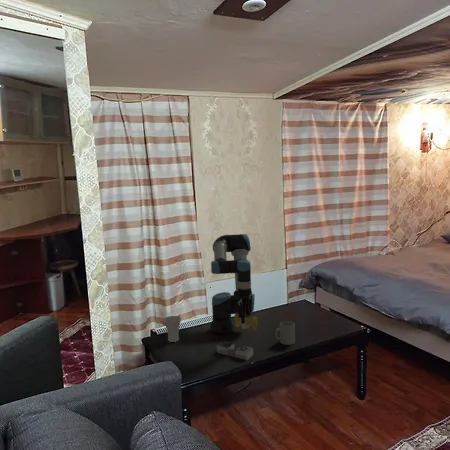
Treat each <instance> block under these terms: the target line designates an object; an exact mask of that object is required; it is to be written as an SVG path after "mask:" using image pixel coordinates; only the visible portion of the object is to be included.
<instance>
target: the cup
mask: <svg viewBox="0 0 450 450" xmlns="http://www.w3.org/2000/svg"><path fill="white" fill-rule="evenodd" d="M162 321H163V322H164V326H165V328H166V331H167V337H168V338H167V342H168V341H170V342H175V343H177V342H176V341H178V340H179V341H180V337H179V331H180V330H179V329H180V325H181V322H182V317H181V316H177V315H170V316H169V315H168V316H166V317H164V318H163V320H162ZM179 341H178V342H179ZM170 342H169V343H170Z"/></svg>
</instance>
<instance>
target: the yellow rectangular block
mask: <svg viewBox="0 0 450 450" xmlns="http://www.w3.org/2000/svg"><path fill="white" fill-rule="evenodd" d="M233 318H234V319H233V321H234V328H235V327H236V328H239V327H242V323H241V318H239V314H233ZM245 318H246V328H247V329H246V330H248V329H249V328H250V327H251V331H254V332H255V331H257V330H258V324H259V323H258V317H257V316H252V315H250V316H248V315H246V314H245Z"/></svg>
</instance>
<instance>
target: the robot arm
mask: <svg viewBox="0 0 450 450" xmlns="http://www.w3.org/2000/svg"><path fill="white" fill-rule="evenodd" d="M248 235H249V234H243V233H240V234H239V233H238V234H224V235H221V236H219V237H217V238H216V239H215V240H214V242H213V244H212V251H213V253H214V254H213V255H214V257H213V258H214V259H213V261H211V262H210V263H211V264H210V269H211V274H213V275H225V274H227V275H228V274H234V282H235V283H234V284H235V285H234V286H235V290H234V291H233V294H231V293H230V292H225V291H224V292H218V293H216V294H214V295H213V296H212V297H211V306H212V308H211V309H212V311H211V312H212V321H211V324H210V333H211V334H213V335H218V336H225V335H230V334H232V333H234V332H235V323H234V322H233V321H234V320H233V319H232V315H235V314H239V318H241V323H242V324H241V329H243V330H248V329H247V328H246V318H245V315H248V316H252V313H253V312H254V310H255V300H256V299H255V294H254V293H253V291H252V275H251V274H252V273H251V269H252V266H251V261H250V260H248V259H247V256H248V255H249V254H250V251H252V250H251V241H250V237H249V236H248ZM227 253H230V254H231V256H232V257H233V259H231V260H229V259H228V258H227Z"/></svg>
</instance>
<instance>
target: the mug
mask: <svg viewBox="0 0 450 450" xmlns="http://www.w3.org/2000/svg"><path fill="white" fill-rule="evenodd" d="M295 327H296V325H295V323H294V322H293V321H288V320H287V321H285V320H284V321H282V322H280V323H279V327H278V328H276V329H275V332H274V334H275V339H276V340H278V341H279V343H280V344H282V345H284V346H291V345H294V344H295V343H296V334H295V333H296V330H295V329H296V328H295ZM278 332H279V336H278Z"/></svg>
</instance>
